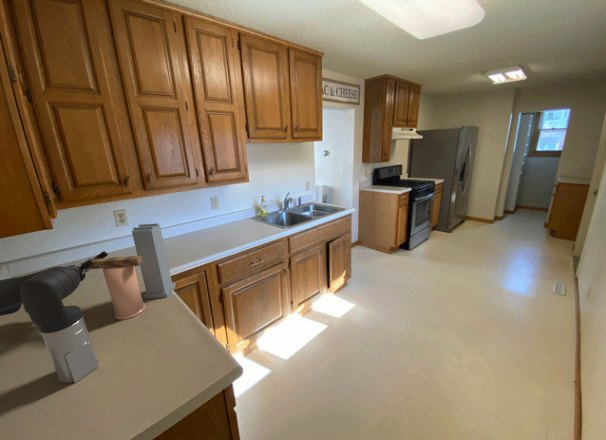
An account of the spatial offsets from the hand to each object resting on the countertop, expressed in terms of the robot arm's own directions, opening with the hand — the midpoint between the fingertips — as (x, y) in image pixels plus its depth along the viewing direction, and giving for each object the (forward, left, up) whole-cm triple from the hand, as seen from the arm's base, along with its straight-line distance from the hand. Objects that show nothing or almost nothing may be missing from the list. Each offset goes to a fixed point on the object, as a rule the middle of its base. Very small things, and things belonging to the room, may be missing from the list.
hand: (99, 257), depth 99 cm
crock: (-5, -3, -25) cm, 26 cm away
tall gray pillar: (-4, -18, -25) cm, 31 cm away
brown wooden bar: (-4, -2, -4) cm, 6 cm away
